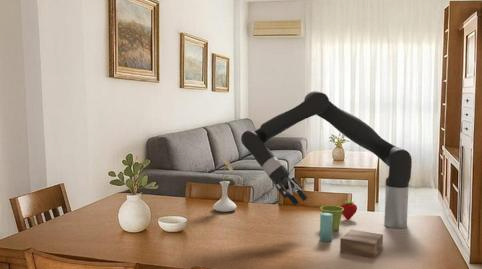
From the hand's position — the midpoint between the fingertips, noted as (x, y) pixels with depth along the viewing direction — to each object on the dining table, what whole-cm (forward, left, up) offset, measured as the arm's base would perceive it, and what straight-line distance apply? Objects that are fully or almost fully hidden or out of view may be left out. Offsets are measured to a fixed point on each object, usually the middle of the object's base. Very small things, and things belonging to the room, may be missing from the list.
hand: (301, 201), depth 183 cm
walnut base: (+4, +25, -14) cm, 29 cm away
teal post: (0, +10, -14) cm, 17 cm away
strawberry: (-31, +9, -14) cm, 35 cm away
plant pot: (-15, +7, -14) cm, 22 cm away
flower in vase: (-17, -47, -14) cm, 51 cm away
